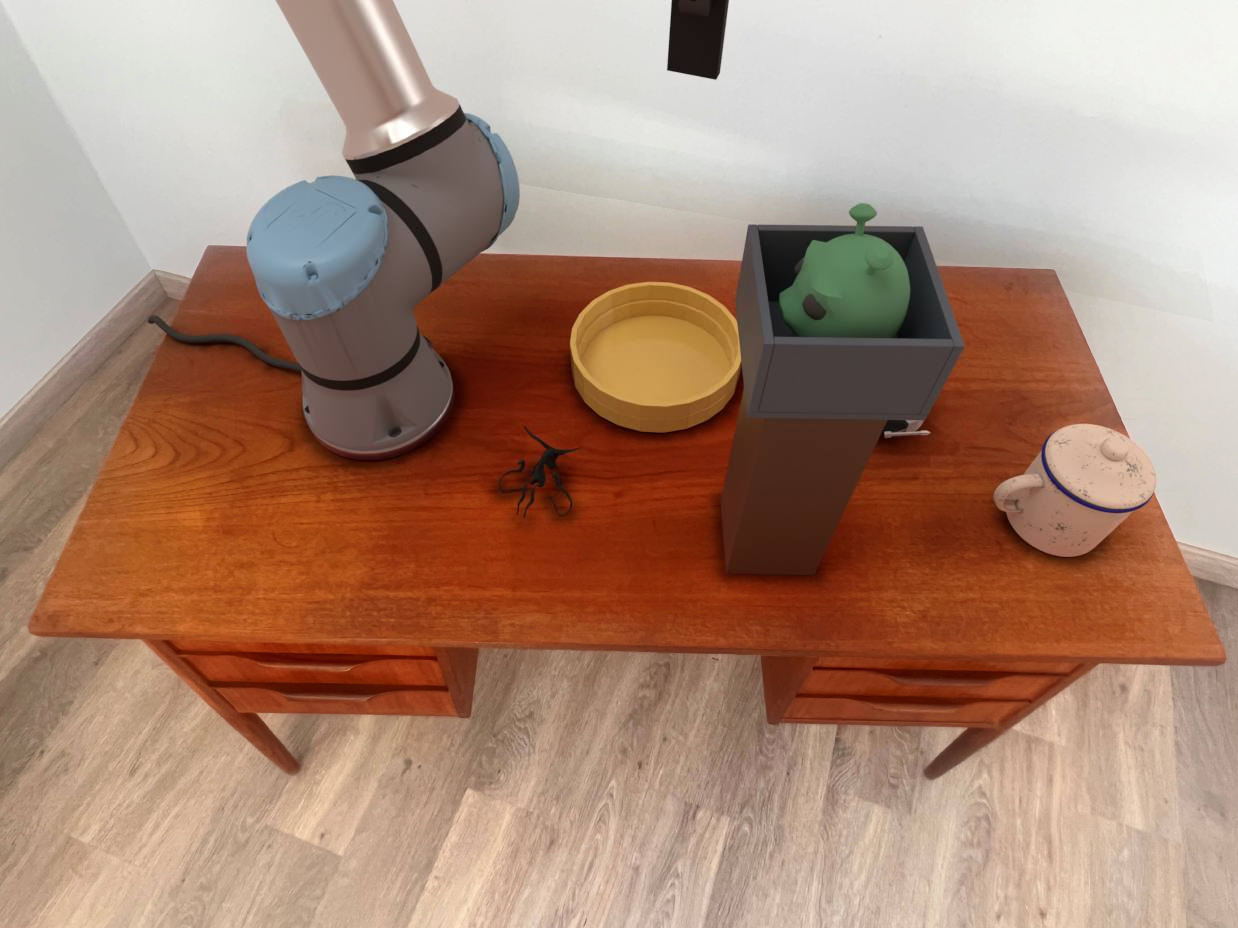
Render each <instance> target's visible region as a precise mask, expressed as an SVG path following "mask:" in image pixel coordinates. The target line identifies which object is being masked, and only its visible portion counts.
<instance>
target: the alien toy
mask: <svg viewBox="0 0 1238 928" xmlns="http://www.w3.org/2000/svg"><path fill="white" fill-rule="evenodd" d="M848 215H849V216H850V217H851V219H853V220H854V221H855V222H856V225H855V226H856V231H855V234H848V235H843V236H840V237H837V238H834V239H832V240H830V241H828V242H827V243H826V242H821V241H816V240H812V242H811V244H810V245H809V247H808V248H807V251H806V254H805V257H804V258H802V259H801V260H800V261H799V262H798V264H797V265H796V266H795V274H796V275H797V277H796V279H795V281H794V283H793V285H792V286H791V287H789V288H787V289H786V290H784V291H783V292H781V293H780V295H779V312H780V314H781V317H782V319H783V322H784V323H785V324H786V325H787V326H788V327H789V328H790V329H791V330H792V332H793V333H794V334H795V335H796V336H797V337H830V338H894V336H895V335H896V334H897V332H898V331H899V329H900V327H901V325H902V323H903V321H904V319H905V316H906V312H907V308H908V304H909V299H910V282H909V276H908V271H907V268H906V266H905V263H904V262H903V260H902V258H901V256H900V255H899V253H898V252H897V251H896V250H895V249H894V248H893V247H892V246H891V245H890V244H888V243H887V242H885V241H884V240H882V239H880V238H877V237H875V236H872V235H867V234H863V232H864V227H865V226H866V222H869V221H871V220H873V219H875V218H876V216H877V215H878V213H877V210H876V209H875V208H874V206H873V205H871V204H870V203H863V202H861V203H857V204H856V205H854V206H852V207H851V208H850V209H849V210H848Z"/></svg>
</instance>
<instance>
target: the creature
mask: <svg viewBox="0 0 1238 928" xmlns="http://www.w3.org/2000/svg"><path fill="white" fill-rule="evenodd" d="M523 428H524V430H525V432H526V433H527V434H528V435H529V437H531V438H532V439H533V440H535V441H537V443H539V444H540V445H541V446H543V448H544V449H545V450H544V451H543V453H542V454H541V457H540V458H539V460H538V461H537V462H536V463H535V465H533V467H532V470H530V471H529V473H530V474H528V475H525V476H524V480H523V482H525V480H526V478H528V477H530V476H531V478H530V480H529V481H527V482H526V483H523V487H518V488H517V487H516V488H513V489H510V490H508V491H504V490H503V489H502V488H501V482H502V479H503V477H505V476H507V475H510V474H513V473H522V472H523V471H524V469H525V467H526V461H525V460H524V459H520V460H519V461H518V462H517V465H520V466H519V467H518V468H516V469H511V470H509V471H506V472H505V473H503V474H502V476H501V477H500V478H499V480H498V487H499V491H500V492H501V493H502V494H508V493H511V492H513V491H517V490H522V491H521V495H520V496H521V497H520V498H519V500H518V502H517V507H516V514H515V515H516V516H518V515H519V512H520V507H521V504H522V503H523V502H524V500H525V499H526V492H527V490H528V488H527V487H528V484H530V485H532V486H533V487H532V489H531V491H530V495H529V496H530V498H529V502H528V503H527V504H526V506H525V508H524V512H523V517H522V518H523V519H525V518H526V515H527V511H528V509H529V508H530V507H531V506H533V504H534V502H535V493H536V492H535V491H536V488H537V487H538V488H539V489H542V488H543V487H544V486H545V485H546V480H547V479H546V478H547V477H546V473H545V465H546V467H547V469H548V470H549V471H553V470H555V469H556V471H557V473H556V471H555V472H552V474H551V478H552V479H554V485H555V486H556V487H557V488H558V492H557V493H556V494H555V496H557V495H558V494H560V492H561V491H562V492H563V493H564V494H565V495H566V498H567V499H568V501H569V502H570V504H569V508H568V510H567V511H566V512H565V514H560V513H558V509H557V506H556V504H555V502H554V501H553V497H554V495H553V496H547V499H548V500H549V501H550V502H551V503H552V504H553V507H554V510H555V512H556V515H558V516H559V517H564V516H567V515H568V514H569V513H570V512H571V510H572V508H573V500H572V498H571V496H570V493H569V492H568V490H566V488H563V487H562V486H563V479H562V476H561V472H560V469H559V466H558V464H557V462H556V461H557V459H558V458H559V457H560V456H564V455H565V454H568V453H572V452H576V451H577V450H580V449H581V448H582V446H579V447H576V448H572V449H570V448H566V449H565V448H564V449H559V448H554V447H552V446H551V445H549V444H548V443H547V442H545V440H544V441H543V440H542V439H541V438H540V437H538V436H536V435H534V434H533V433H532V432H531V431H530V430H529V429H528V427H527V426H526V425H524V426H523ZM535 484H536V485H535ZM534 485H535V486H534Z"/></svg>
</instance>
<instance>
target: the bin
mask: <svg viewBox="0 0 1238 928" xmlns="http://www.w3.org/2000/svg"><path fill="white" fill-rule="evenodd" d="M855 231H856V225H836V224H835V225H831V224H830V225H829V224H828V225H825V224H824V225H823V224H753V223H752V224H751V223H750V224H748V225H747V229H746V236H745V240H744V247H743V253H742V257H741V258H742V259H741V264H740V271H739V277H738V282H737V288H736V294H735V300H734V304H735V314H736V315H735V316H736V321H737V325H738V334H739V343H740V353H741V362H742V364H741V371H742V379H743V391H742V395H741V400H740V406H739V410H738V415H737V419H736V424H735V429H734V434H733V437H732V438H733V439H732V444H731V449H730V453H729V457H728V462H727V467H726V472H725V477H724V482H723V487H722V491H721V495H720V511H721V512H720V513H721V524H722V526H721V527H722V538H723V552H724V553H723V554H724V565H725V574H726V575H774V576H775V575H777V576H779V575H781V576H782V575H783V576H784V575H785V576H815V574H816V573H817V570H818V568H819V566H820V564H821V562H822V560H823V558H824V556H825V554H826V551H827V549H828V547H829V544H830V543H831V540H832V538H833V536H834V534H835V532H836V530H837V528H838V526H839V525H840V521H841V519H842V518H843V515H844V513H845V511H846V509H847V507H848V504H849V502H850V500H851V498H852V496H853V494H854V492H855V490H856V488H857V485H858V484H859V481H860V480H861V478H862V475H863V473H864V471H865V469H866V466H867V464H868V462H869V461H870V458H871V457H872V454H873V452H874V450H875V448H876V445H877V443H878V441H879V439H880V437H881V436H882V435H881V433H882V431H883V429H884V426H885V424H886V422H887V420H924V421H926V420H927V418H928V416H929V414H930V412H931V410H932V409H933V407H934V405H935V403H936V402H937V399H938V397H939V396H940V393H941V392H942V390H943V388H944V387H945V385H946V382H947V381H948V379H949V377H950V375H951V374H952V371H953V370H954V369H955V366H956V364H957V362H958V360H959V358H960V357H961V355H962V353H963V351H964V349H965V347H966V346H965V343H964V340H963V337H962V334H961V331H960V328H959V326H958V322H957V320H956V317H955V313H954V311H953V307H952V305H951V303H950V300H949V296H948V294H947V292H946V288H945V285H944V283H943V279H942V276H941V275H940V272H939V269H938V265H937V263H936V260H935V257H934V254H933V251H932V249H931V246H930V243H929V240H928V237H927V234H926V232H925V228H924V226H919V225H918V226H917V225H915V226H912V225H911V226H908V225H907V226H906V225H905V226H904V225H865V227H864V232H863V234H867V235H872V236H875V237H877V238H880V239H882V240H884V241H885V242H887V243H888V244H890V245H891V246H892V247H893V248H894V249H895V250H896V251H897V252H898V253H899V255H900V256H901V258H902V260H903V262H904V263H905V266H906V268H907V271H908V276H909V282H910V299H909V304H908V308H907V312H906V316H905V319H904V321H903V323H902V325H901V327H900V329H899V331H898V332H897V334H896V335H895V336H894V338H830V337H797V336H796V335H795V334H794V333H793V332H792V330H791V329H790V328H789V327H788V326H787V325H786V324H785V323H784V322H783V319H782V317H781V314H780V312H779V295H780V293H781V292H783V291H784V290H786V289H787V288H789V287H791V286H792V285H793V283H794V281H795V279H796V277H797V275H796V274H795V266H796V265H797V264H798V262H799V261H800V260H801V259H802V258H804V257H805V254H806V251H807V248H808V247H809V245H810V244H811V242H812V240H816V241H821V242H826V243H827V242H828V241H830V240H832V239H834V238H837V237H840V236H843V235H848V234H855Z"/></svg>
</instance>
